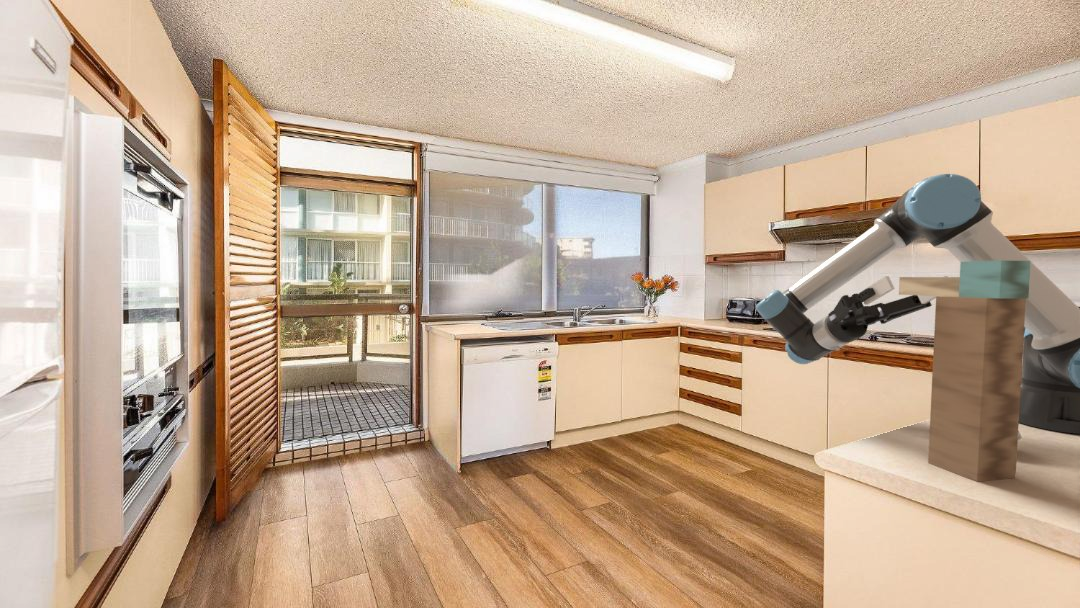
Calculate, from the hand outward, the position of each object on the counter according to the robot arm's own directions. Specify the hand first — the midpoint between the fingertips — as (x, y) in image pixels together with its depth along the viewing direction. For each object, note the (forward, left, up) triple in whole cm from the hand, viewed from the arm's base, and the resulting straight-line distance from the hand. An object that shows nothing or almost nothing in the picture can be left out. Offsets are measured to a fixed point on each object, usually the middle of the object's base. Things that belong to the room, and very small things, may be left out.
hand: (920, 282), depth 90 cm
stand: (0, +10, -32) cm, 34 cm away
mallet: (0, +6, -2) cm, 6 cm away
